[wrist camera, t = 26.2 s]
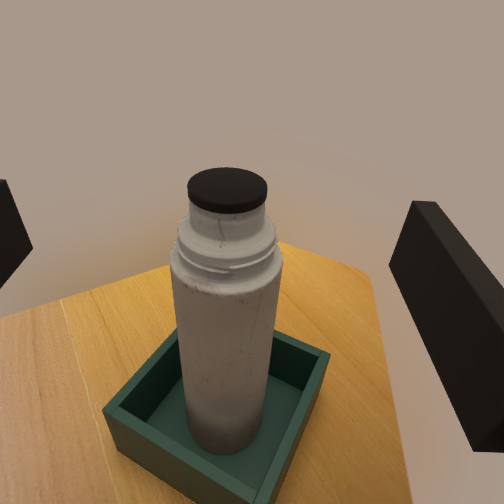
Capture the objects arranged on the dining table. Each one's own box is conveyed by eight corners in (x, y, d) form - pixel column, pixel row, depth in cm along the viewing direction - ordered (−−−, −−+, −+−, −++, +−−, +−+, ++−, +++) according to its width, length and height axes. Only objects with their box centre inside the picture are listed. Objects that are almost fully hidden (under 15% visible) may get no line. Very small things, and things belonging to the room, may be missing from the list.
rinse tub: (318, 394, 42) (331, 353, 38) (257, 544, 31) (264, 512, 26) (204, 340, 48) (203, 298, 43) (117, 450, 36) (101, 409, 32)
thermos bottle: (205, 375, 43) (194, 147, 26) (269, 395, 41) (303, 166, 24) (174, 440, 37) (133, 197, 20) (249, 466, 35) (275, 227, 18)
